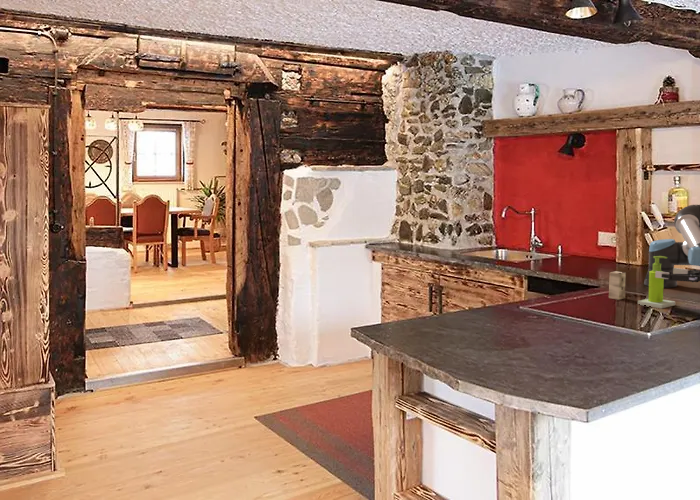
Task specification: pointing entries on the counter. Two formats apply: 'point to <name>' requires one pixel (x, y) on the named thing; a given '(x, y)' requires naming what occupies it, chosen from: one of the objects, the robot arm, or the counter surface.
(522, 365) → the counter surface
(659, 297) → the soap dispenser
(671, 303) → the sage pad
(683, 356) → the counter surface
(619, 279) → the birch post
